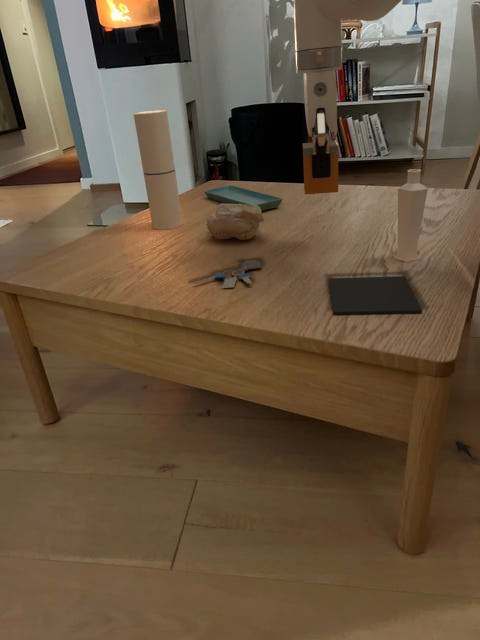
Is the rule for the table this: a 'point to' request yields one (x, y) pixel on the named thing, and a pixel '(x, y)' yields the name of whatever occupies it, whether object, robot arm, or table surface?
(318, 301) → the table surface
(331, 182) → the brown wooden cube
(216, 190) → the shallow long dish
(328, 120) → the robot arm
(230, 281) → the toy rifle
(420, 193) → the perfume bottle
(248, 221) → the fossil replica
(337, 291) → the coaster
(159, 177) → the cylindrical container
